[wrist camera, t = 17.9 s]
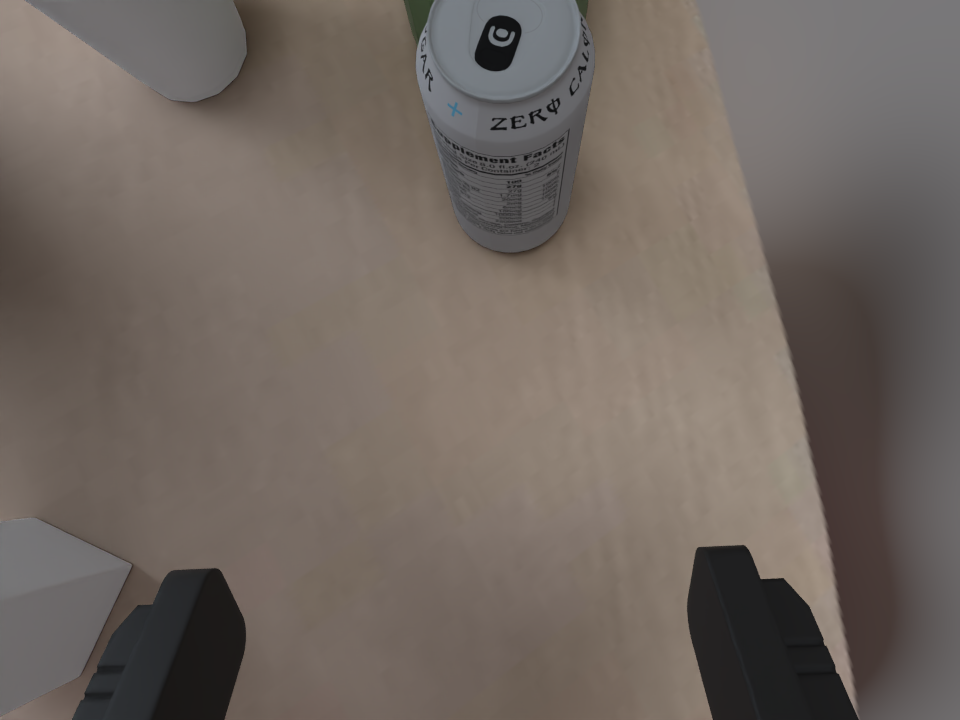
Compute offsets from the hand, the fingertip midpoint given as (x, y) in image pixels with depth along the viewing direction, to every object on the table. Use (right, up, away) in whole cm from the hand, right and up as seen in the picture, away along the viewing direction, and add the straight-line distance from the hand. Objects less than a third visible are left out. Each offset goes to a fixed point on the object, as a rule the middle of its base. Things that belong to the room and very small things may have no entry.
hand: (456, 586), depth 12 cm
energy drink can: (+2, +12, +25) cm, 28 cm away
